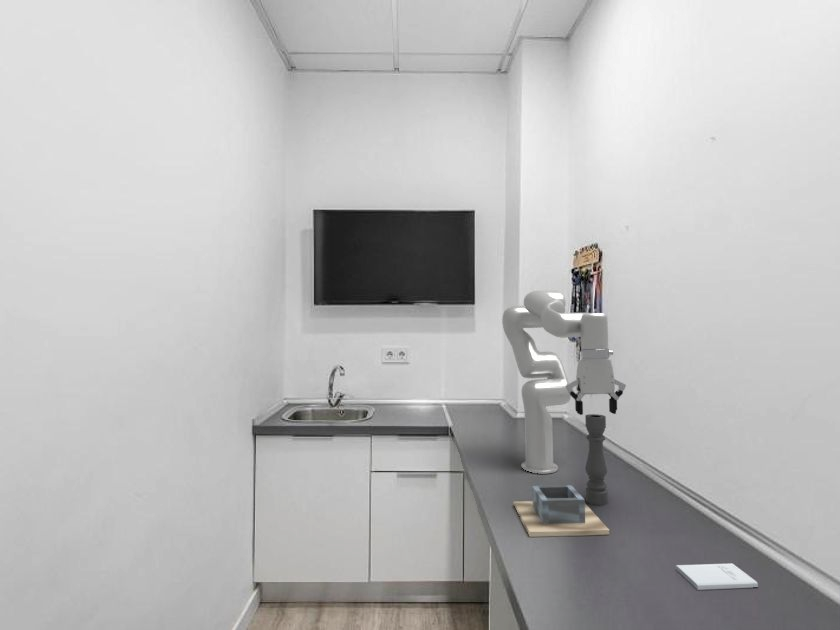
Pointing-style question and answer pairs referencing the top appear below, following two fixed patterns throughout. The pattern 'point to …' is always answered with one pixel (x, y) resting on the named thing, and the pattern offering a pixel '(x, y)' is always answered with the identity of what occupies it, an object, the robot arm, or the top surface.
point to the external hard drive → (716, 576)
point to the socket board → (558, 513)
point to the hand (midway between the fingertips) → (596, 413)
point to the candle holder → (596, 460)
